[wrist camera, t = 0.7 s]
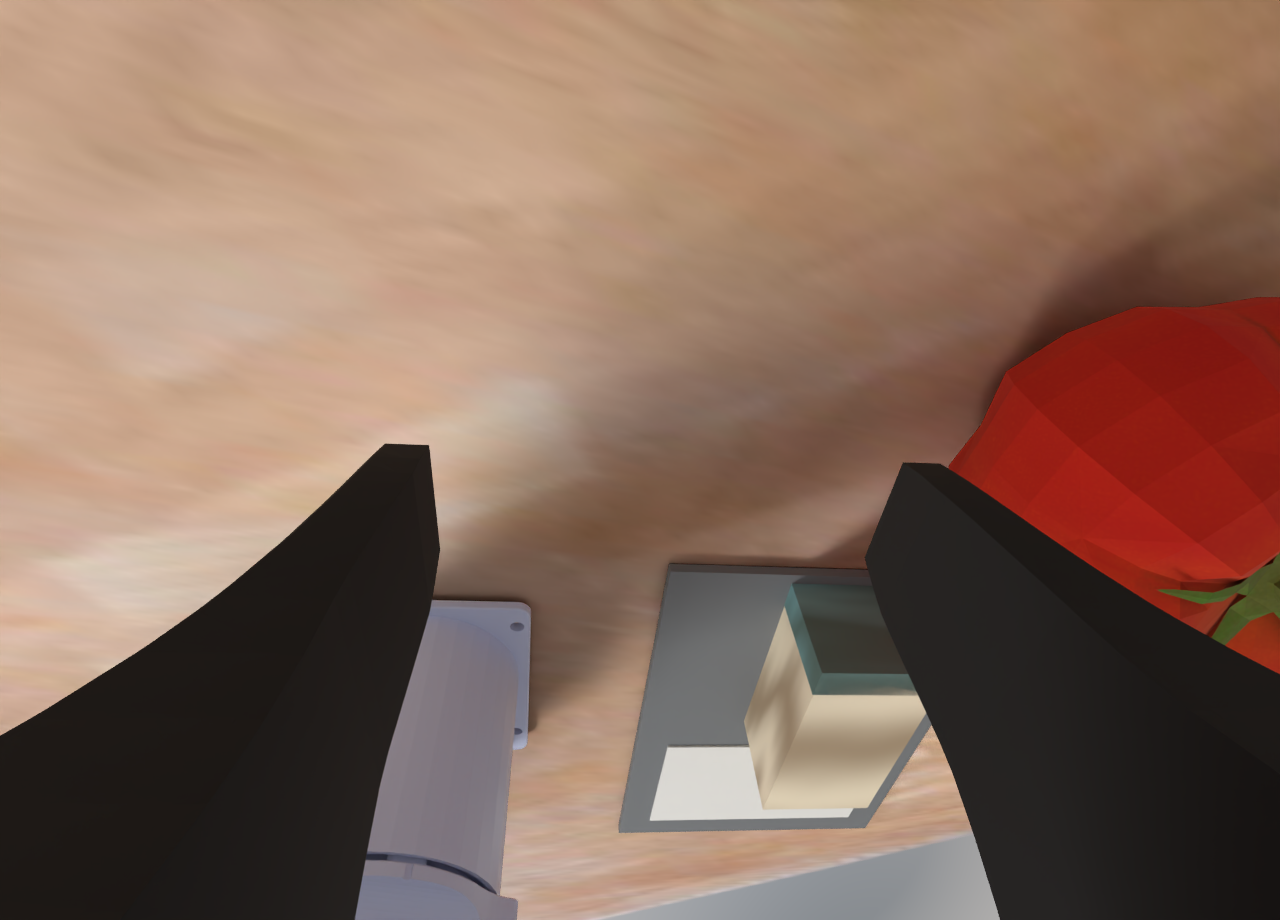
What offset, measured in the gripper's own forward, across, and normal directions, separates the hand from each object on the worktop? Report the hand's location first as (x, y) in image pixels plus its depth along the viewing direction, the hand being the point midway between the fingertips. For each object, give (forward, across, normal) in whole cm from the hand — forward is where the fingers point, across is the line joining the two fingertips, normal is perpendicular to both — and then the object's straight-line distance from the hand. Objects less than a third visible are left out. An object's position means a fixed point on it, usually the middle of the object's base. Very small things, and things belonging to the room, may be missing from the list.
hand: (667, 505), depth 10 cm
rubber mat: (+10, -9, +21) cm, 25 cm away
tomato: (+10, -16, +4) cm, 19 cm away
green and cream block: (+9, -9, +16) cm, 21 cm away
